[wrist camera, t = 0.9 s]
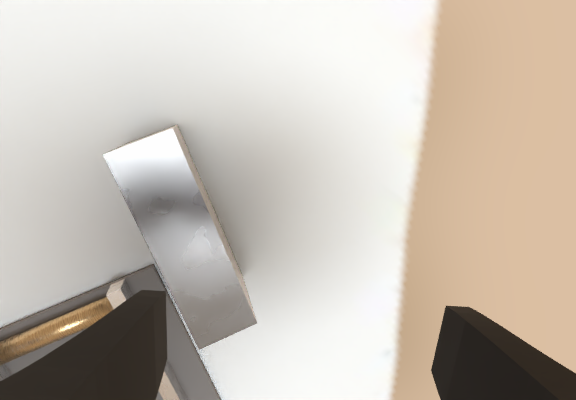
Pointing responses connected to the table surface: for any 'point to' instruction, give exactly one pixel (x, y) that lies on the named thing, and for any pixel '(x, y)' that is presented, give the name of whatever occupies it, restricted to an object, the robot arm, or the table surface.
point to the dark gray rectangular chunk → (183, 234)
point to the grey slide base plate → (178, 341)
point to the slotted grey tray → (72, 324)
